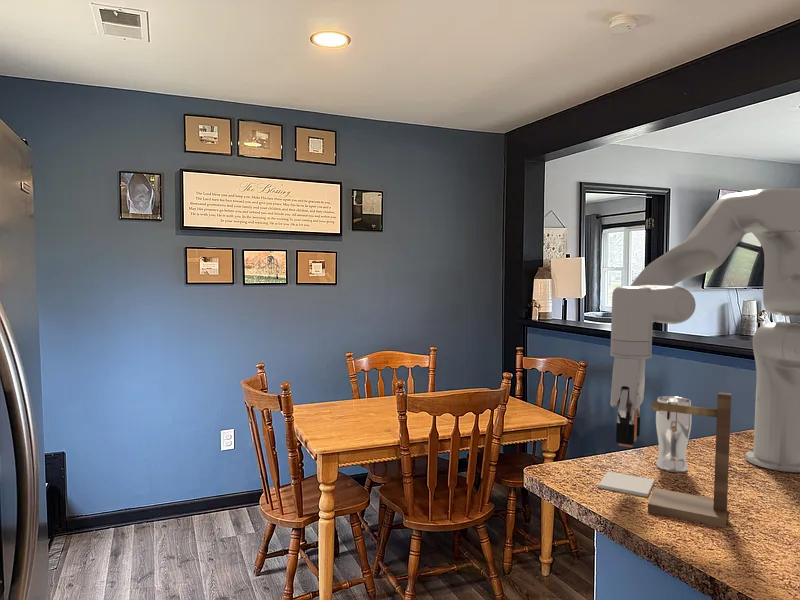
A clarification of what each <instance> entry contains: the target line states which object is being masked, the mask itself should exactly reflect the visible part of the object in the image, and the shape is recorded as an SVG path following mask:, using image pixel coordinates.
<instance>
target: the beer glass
mask: <svg viewBox="0 0 800 600" xmlns="http://www.w3.org/2000/svg"><path fill="white" fill-rule="evenodd" d="M657 401H658V402H660V403H667V404H676V405H684V406H692V400H691V399H689V398H686V397H681V396H680V397H679V396H671V395H667V396H666V395H665V396H663V395H662V396H658V397H657ZM655 426H656V434H657V435H656V436H657V441H658V456H657V461H656V467H657V468H658V469H659V470H663V471H665V470H666V471H665V472H671V473H672V472H673V473H685V472H687V471H688V462H687V448H688V447H687V446H688V443H689V439H690V433H691V429H692V414H684V413H676V412H668V411H655Z"/></svg>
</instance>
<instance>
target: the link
mask: <svg viewBox="0 0 800 600" xmlns="http://www.w3.org/2000/svg"><path fill="white" fill-rule="evenodd" d="M631 406H632V405H627V407H630V408H631ZM627 412H629V414H630V411H627ZM637 413H638V408H637V409H635V410H634V417H633V424H635V428H634V443H635V442H637V441H638V440H637V438H638V437H637V417H638V416H637ZM629 416H630V415H629ZM633 445H634V444H633ZM633 445H627V444H620V443H618V446H620V447H627V448H632V447H634V446H633Z"/></svg>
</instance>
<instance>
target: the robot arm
mask: <svg viewBox="0 0 800 600" xmlns="http://www.w3.org/2000/svg"><path fill="white" fill-rule="evenodd" d="M750 233H751V234H753V236H754V237H756V239H757V240H758V242H759V243H760V246H761V247H762V249H763V250H762V251H763V255H764V256H763V257H764V259H763V260H764V267H763V268H764V269H763V284H762V285H763V288H762V289H763V290H762V302H763V307H764V308H765V310H766V311H767V312H768V313H770V314H772V315H776V316H781V317H792V318H800V188H760V189H755V190H753V189H752V190H747V191H739V192H733V193H728V194H726V195H723V196H721V197H719V198H718V199H717V200H716V201H715V202H714V203H713V204H712V205H711V207H710V208H709V209H708V210H707V212H706V213H705V214H704V216H703V217H702V218H701V219H700V220H699V222H698V223H697V225H696V226H695V227H694V228H693V229H692V231H690V234H688V236H687V237H686V238H685V239H684V241H682V242H681V243H679V244H678V245H675V246H674V247H672V248H671V249H669V250H668V251H666V252H665V253H664V254H662V255H661V256H659V257H658V258H656V259H655V260H653V261H651V262H650V263H648V264H647V266H646V267H645V268H644V269H642V271H641V272H640V273H639V274H638V275H637V277H635V279H634V280H633V281H632V283H631V284H630V285H628V286H627V285H623V286H617V287H615V288H614V289H613V291H612V296H611V298H612V299H611V323H610V324H611V325H610V351H609V352H610V356H611V357H614V359H613V365H612V375H611V376H612V377H611V391H610V401H609V403H610V407H612V408H616V407H617V406H618V408H617V418H616V430H615V431H616V433H615V442H616V444H619V443H620V444H627V445H634V444H635V442H634V428H635V424H633V417H634V410H635V409H637V408H638V413H637V438H638V437H640V433H641V431H640V429H641V415H640V413H641V408H640V406H641V405H642V403H643V402H644V396H645V395H644V394H645V384H646V383H645V381H646V380H645V379H646V360H647V359H648V360H649V359H651V358H652V351H653V350H652V349H653V348H652V347H653V345H652V344H653V324H654V323H655V322H656V323H660V324H671V325H676V324H682V323H684V322H686V321H688V320H690V319H691V317H692V316H693V315H694V313H695V310H696V300H695V299H696V298H695V297H694V295H693V294H692V292H691V291H689V290H688V289H686V288H684V287H681V286H678V285H676V284H679V283H680V282H683V281H684V280H688V279H691V278H693V277H697V276H699V275H703V274H705V273H707V272H711V271H713V270H716V269H717V268H719V267H720V266H721V265H722V264H723V263H724V262H725V261H726V259H727V258H728V256H730V255H731V253H732V251H733V250H734V249H735V248H736V246H737V244H739V242H740V241H741V240H742V239H743V237H744V236H745V235H747V234H750ZM752 337H753V338H752V350H753V356H754V362H755V372H756V373H755V374H756V376H755V377H756V379H755V380H756V381H755V382H756V385H755V386H756V387H755V388H756V389H755V405H754V406H755V409H754V411H755V412H754V429H753V431H754V434H753V450H750V451H749V450H748V451H746V452H745V454H744V455H745V457H744V458H745V460H746V461H747V462H749V463H751V464H752V465H755V466H757V467H761V468H764V469H768V470H772V471H779V472H787V473H800V322H799V323H797V322H786V321H773V322H767V323H765V324H762V325H760V326H759V327H758V328H757V329H756V330H755V332H754V334H753V336H752ZM627 405H632V406H631V408H630V407H627ZM627 411H630V414H629V412H627ZM629 415H630V416H629Z"/></svg>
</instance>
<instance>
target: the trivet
mask: <svg viewBox="0 0 800 600" xmlns="http://www.w3.org/2000/svg"><path fill="white" fill-rule="evenodd" d="M654 484H655V479H653V478H648V477H647V478H646V477H643V476H641V477H640V476H637V475H636V476H635V475H631V474H626V473H625V474H624V473H619V472H614V471H607V472H606V473H605V475H604V476H603V477H602V479H601V481H599V483H598V485H597V486H598V487H599V489H603V488H604V489H603V490H609V491H615V492H620V493H623V494H624V493H625V494H629V495H633V496H634V495H636V496H640V497H646V498H649V495H650V494H651V491H652V489H653V486H654Z"/></svg>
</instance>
